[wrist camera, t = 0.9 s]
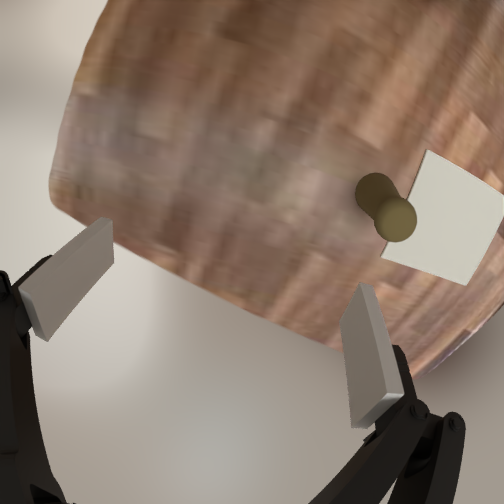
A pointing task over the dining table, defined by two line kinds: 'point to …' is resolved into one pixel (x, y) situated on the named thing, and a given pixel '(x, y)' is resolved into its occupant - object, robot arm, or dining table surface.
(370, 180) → the cork
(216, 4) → the dining table surface
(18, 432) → the robot arm
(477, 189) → the felt mat
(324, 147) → the dining table surface
